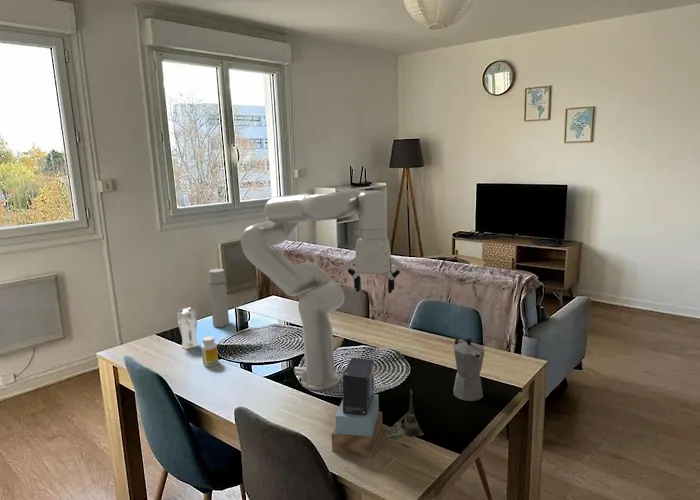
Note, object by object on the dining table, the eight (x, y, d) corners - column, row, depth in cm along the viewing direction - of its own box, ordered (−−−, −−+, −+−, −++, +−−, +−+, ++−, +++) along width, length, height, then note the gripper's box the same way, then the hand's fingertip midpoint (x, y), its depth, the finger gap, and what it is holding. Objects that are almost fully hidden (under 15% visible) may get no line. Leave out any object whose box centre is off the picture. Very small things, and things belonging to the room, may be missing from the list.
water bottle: (228, 327, 212) (223, 272, 207) (210, 328, 212) (204, 272, 207) (233, 320, 221) (228, 267, 216) (216, 320, 221) (211, 267, 216)
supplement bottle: (221, 361, 178) (219, 336, 176) (211, 367, 173) (209, 342, 171) (210, 359, 180) (207, 334, 178) (200, 365, 175) (197, 340, 173)
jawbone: (342, 338, 199) (343, 333, 198) (347, 359, 179) (347, 354, 178) (320, 337, 198) (321, 332, 197) (322, 359, 178) (323, 354, 178)
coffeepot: (493, 402, 143) (494, 345, 139) (463, 407, 141) (464, 349, 137) (469, 379, 158) (469, 326, 154) (442, 383, 156) (442, 330, 152)
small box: (367, 416, 120) (367, 377, 118) (342, 413, 121) (341, 374, 119) (375, 395, 130) (374, 358, 128) (351, 393, 131) (350, 356, 129)
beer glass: (177, 348, 191) (172, 312, 188) (189, 341, 198) (185, 306, 195) (191, 350, 189) (187, 313, 186) (202, 343, 195) (199, 308, 192)
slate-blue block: (336, 434, 122) (335, 415, 121) (346, 409, 133) (345, 392, 132) (371, 437, 120) (371, 418, 119) (378, 411, 131) (378, 394, 130)
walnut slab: (332, 451, 123) (331, 434, 122) (347, 424, 135) (346, 407, 134) (370, 457, 120) (370, 439, 119) (382, 428, 132) (382, 412, 131)
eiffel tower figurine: (407, 413, 140) (406, 370, 137) (439, 424, 134) (439, 379, 131) (379, 439, 128) (378, 392, 125) (413, 452, 122) (413, 403, 119)
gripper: (340, 236, 138) (342, 293, 142) (400, 236, 134) (401, 296, 137) (347, 231, 145) (349, 286, 149) (404, 232, 141) (405, 289, 144)
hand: (374, 291), depth 143 cm, fingers open, 9 cm apart
